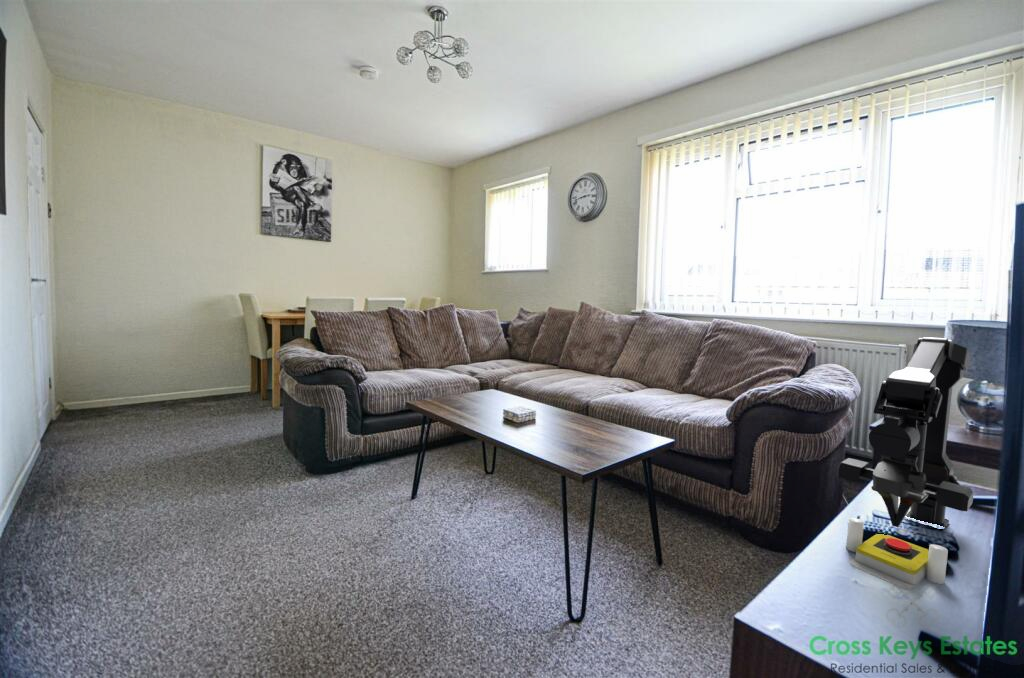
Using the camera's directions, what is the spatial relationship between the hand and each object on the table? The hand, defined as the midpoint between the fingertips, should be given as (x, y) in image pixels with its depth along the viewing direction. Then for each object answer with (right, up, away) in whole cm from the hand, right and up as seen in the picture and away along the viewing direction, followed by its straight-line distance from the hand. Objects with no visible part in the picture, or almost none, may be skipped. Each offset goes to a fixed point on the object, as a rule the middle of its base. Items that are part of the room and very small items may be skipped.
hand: (895, 525), depth 86 cm
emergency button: (0, -8, +1) cm, 8 cm away
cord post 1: (-4, -7, +6) cm, 10 cm away
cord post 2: (+4, -8, -4) cm, 10 cm away
